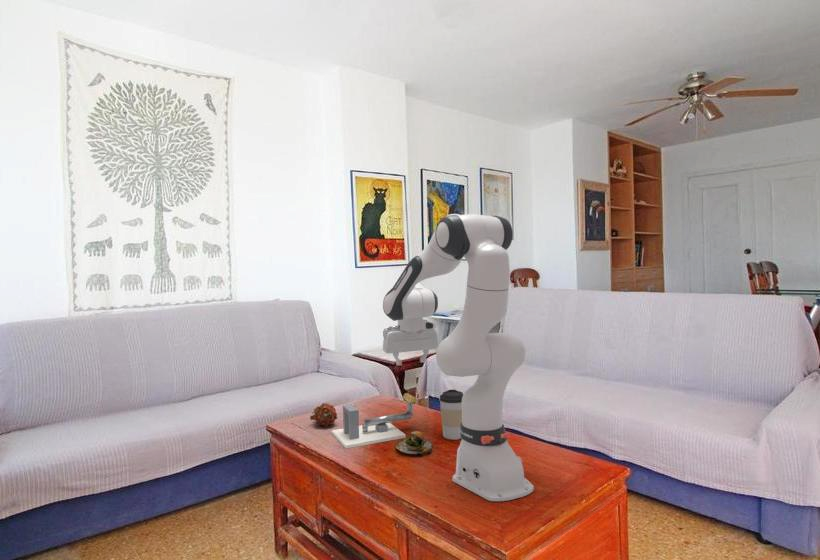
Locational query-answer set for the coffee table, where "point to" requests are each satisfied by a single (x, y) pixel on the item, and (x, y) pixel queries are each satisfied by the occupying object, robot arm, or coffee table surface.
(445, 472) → the coffee table surface
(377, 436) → the board
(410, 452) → the burger
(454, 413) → the coffee cup
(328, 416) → the dragon fruit
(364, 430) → the hook
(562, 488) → the coffee table surface
